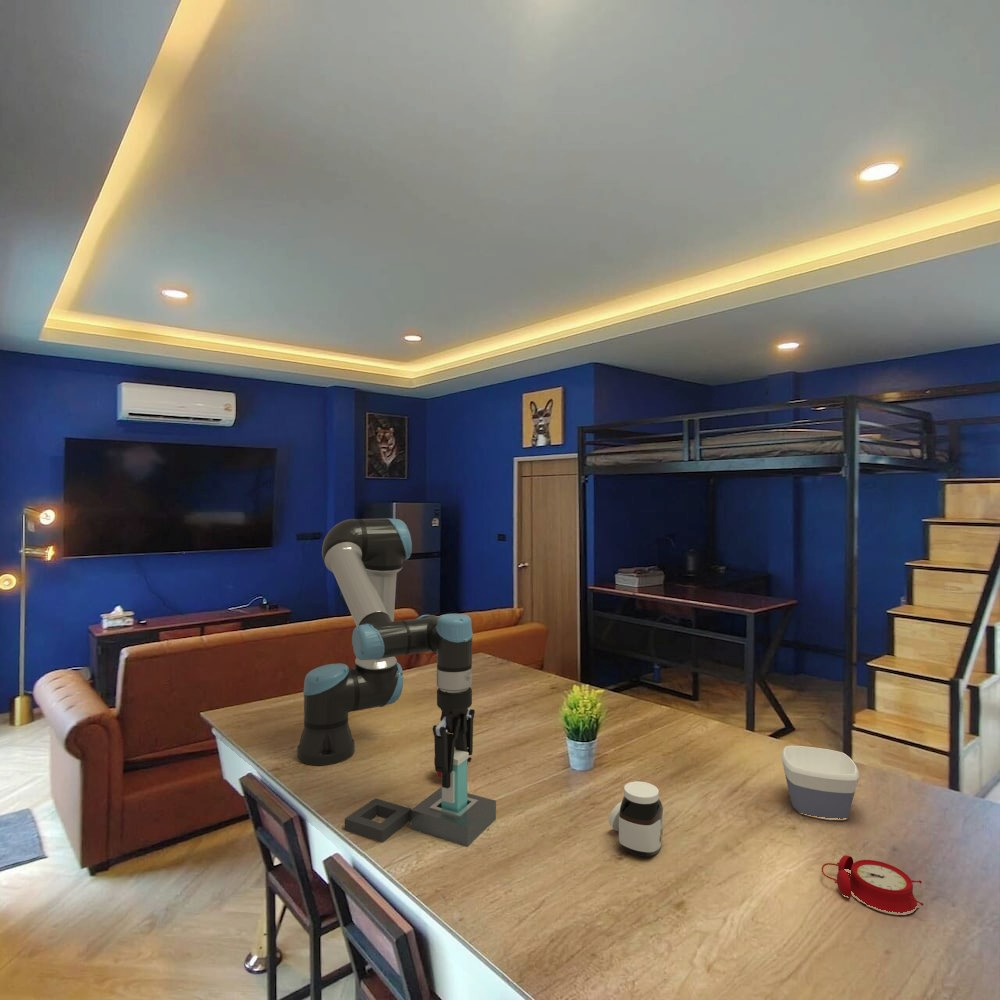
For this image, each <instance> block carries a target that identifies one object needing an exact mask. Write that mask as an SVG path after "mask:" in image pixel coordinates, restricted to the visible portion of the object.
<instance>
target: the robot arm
mask: <svg viewBox="0 0 1000 1000" xmlns="http://www.w3.org/2000/svg"><path fill="white" fill-rule="evenodd" d="M321 547H322V548H321V556H322V560H323V563H324V565H325V567H326V569H327V570H328V571H330V572H331V573H333V575H334V579H336V582H337V586H338V587H339V589H340V592H341V594H342V596H343V599H344V601H345V603H346V605H347V608H348V610H349V612H350V615H351V617H352V619H353V622H354V624H355V627H354V629H353V631H352V636H351V645H352V647H353V654H354V655H355V660H354V667H350V668H349V666H348V665H347V664H345V663H341V662H340V663H329V664H324V665H321V666H318V667H316V668H314V669H312V670H310V671H308V673H306V675H305V678H304V684H303V720H304V721H303V728H302V729H303V730H302V734H301V735H300V739H299V743H298V745H297V748H296V757H297V760H298V761H299V762H301V763H303V764H306V765H310V766H311V765H312V766H325V765H333V764H337V763H339V762H343V761H345V760H348V759H349V758H351V757H352V756H353V755H354V754H355V751H356V750H355V748H356V747H355V740H354V738H353V735H352V731H351V729H350V725H349V713H351V712H352V713H353V712H357V711H363V710H368V709H369V710H370V709H374V708H378V707H379V708H383V707H385V706H388V705H392V704H395V703H396V702H397V701H398V700H399V699H400V698H401V695H402V693H403V689H404V676H403V674H404V672H403V668H402V665H401V664H400V663H399V662H398V659H397V657H398V656H407V655H414V654H421V653H429V652H431V653H434V654H435V655H436V663H437V664H436V686H437V690H436V705H437V707H438V708H439V709H440V710H441V715H440V719H439V720H440V721H439V724H438V725H436V724H435V725H433V726H432V734H433V738H434V758H435V765H434V771H435V772H436V771H438V772H442V779H441V787H442V801H446V802H449V803H454V802H455V771H452V770H453V760H454V750H455V749H456V750H460V751H464V752H469V758H468V759H467V762H468V763H471V761H472V757H470V756H472V754H473V747H474V745H473V744H474V743H473V741H474V739H473V738H474V718H475V712H476V711H475V709H474V708H470V707H471V706H472V704H473V689H472V688H471V687H472V683H473V681H472V679H473V674H472V673H473V671H472V665H473V635H474V633H473V628H472V625H473V624H472V618H471V617H470V616H469V615H467V614H464V613H446V614H442V615H439V616H437V615H433V614H423V615H420V616H418V617H417V618H414V619H405V620H395V607H396V606H395V605H396V589H397V577H398V576H397V574H398V573H399V572H400V571H401V570H402V569H403V565H404V561H407V560H408V559H409V558H411V555H412V551H413V549H412V548H413V543H412V537H411V532H410V530H409V528H408V526H407V524H406V523H405V522H404V521H403V520H401V519H398V518H387V517H383V518H349V519H345V520H342V521H341V522H338V523H336V524H335V525H334V526H333V527H332V528H331V529H329V531H328V533H326V536H325V537H324V539H323V543H322V546H321Z"/></svg>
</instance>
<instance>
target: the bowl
mask: <svg viewBox="0 0 1000 1000" xmlns="http://www.w3.org/2000/svg"><path fill="white" fill-rule="evenodd" d="M781 761H782V767H783V770H784V774H785V779H786V780H785V781H786V786H787V790H788V794H789V795H788V796H789V798H790V803H791V805H793V806H794V807H793V806H792V807H793V809H794V808H795V809H796V810H797V811H798V812H800V813H803V814H807V815H811V816H817V817H825V818H838V819H839V818H840V819H843V818H848V819H849V816H850V811H851V808H852V806H853V805H852V804H853V800H854V797H855V793H856V790H857V786H858V782H859V779H860V772H859V769H858V766H857V765H856V763H855V762H854V761H853V759H852V758H851V757H850V756H848V755H847V754H846V753H844V752H842V751H837V750H833V749H827V748H821V747H813V746H807V745H806V746H805V745H803V746H802V745H787V746H785V747H784V748H783V750H782V752H781ZM795 809H794V810H795ZM796 810H795V811H796ZM797 811H796V812H797ZM798 812H797V813H798Z"/></svg>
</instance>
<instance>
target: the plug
mask: <svg viewBox="0 0 1000 1000" xmlns="http://www.w3.org/2000/svg"><path fill="white" fill-rule="evenodd" d="M469 757H470V755H469V752H464V751H460V750H456V749H455V750H454V760H453V770H452V771H455V802H454V803H449V802H446V801H442V808H443V809H447V810H450V811H454V812H457V813H459V812H460V811H461V810H462V809H463V808H465V807H466V806H467V793H468V766H467V759H468V758H469Z"/></svg>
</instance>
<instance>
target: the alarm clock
mask: <svg viewBox="0 0 1000 1000" xmlns="http://www.w3.org/2000/svg"><path fill="white" fill-rule="evenodd" d="M828 865H829V866H837V869H838V871H837V875H836V878H834V877H831V876H829V875H827V874H825V872H824V868H825V866H828ZM844 869H849V870H851V874H850V873H848V872H846V871H845V870H844ZM821 873H822V875H823V876H824V877H826V878H827V879H830V880H831V881H834V883H835V884H837V888H839V889H838V891H839V890H840V891H839V893H840V892H841V893H842V894H843V895H845V896H848V897H850V898H851V897H852V895H851V891H852V892H853V893H854V895H855V896H857V897H858V898H859V899H860V900H862V901H863V902H865V903H866V904H867V905H870V906H873V907H876V908H878V909H881V910H886V911H888V912H889V911H890V912H892V911H893V912H897V913H898V912H900V913H903V912H907V911H911V910H913V909H915V907H916V906H917V905H918V904H920V906H924V903H923V902H921V901H919V900H917V899H916V898H915V896H914V891H913V890H914V884H913V883H919V884H922V883H923V881H922V880H921V879H919V880H912V879H911V877H910V876H909V875H907V873H906V872H904V871H903V870H902V869H900V868H898V867H896V866H894V865H891V864H888V863H886V862H883V861H879V860H875V859H861V860H857V861H854V858H853V857H852V856H850V855H848V854H846V855H842V857H841V858H840V859H839V861H838V862H837V863H831V862H827V863H824V864H823V865H822V867H821ZM848 874H849V875H851V876H848ZM841 893H840V894H841Z"/></svg>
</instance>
